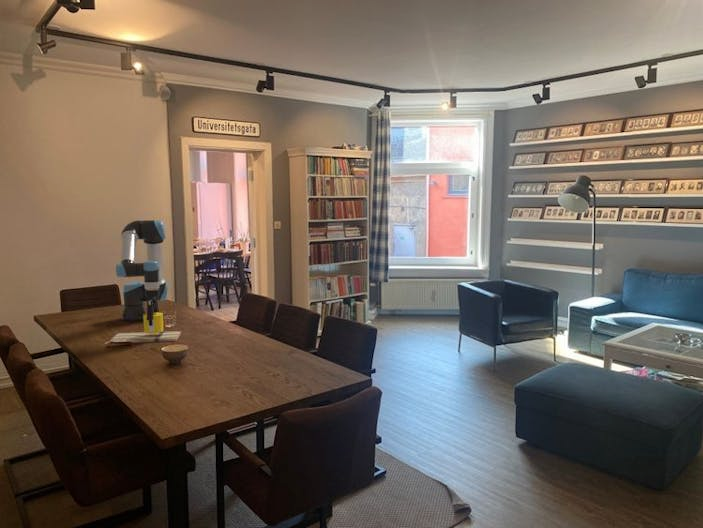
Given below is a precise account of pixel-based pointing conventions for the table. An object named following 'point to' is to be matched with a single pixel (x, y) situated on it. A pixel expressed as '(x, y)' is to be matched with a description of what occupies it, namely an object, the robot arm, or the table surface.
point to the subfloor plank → (147, 336)
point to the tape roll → (157, 323)
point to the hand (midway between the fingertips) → (153, 328)
